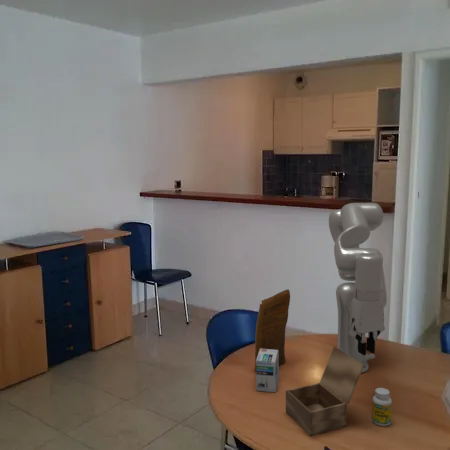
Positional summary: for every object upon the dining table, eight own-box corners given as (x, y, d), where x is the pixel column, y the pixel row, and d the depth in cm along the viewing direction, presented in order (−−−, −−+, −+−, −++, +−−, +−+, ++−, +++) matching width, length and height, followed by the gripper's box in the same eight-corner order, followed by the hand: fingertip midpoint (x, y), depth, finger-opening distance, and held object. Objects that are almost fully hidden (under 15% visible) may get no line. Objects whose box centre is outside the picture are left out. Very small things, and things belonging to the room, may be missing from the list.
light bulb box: (276, 393, 161) (276, 362, 160) (255, 391, 163) (255, 360, 161) (279, 378, 172) (279, 349, 170) (260, 376, 173) (259, 347, 172)
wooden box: (319, 403, 154) (319, 382, 153) (346, 426, 141) (346, 403, 140) (285, 411, 150) (285, 390, 149) (310, 436, 137) (310, 412, 136)
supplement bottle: (391, 418, 145) (392, 387, 144) (391, 427, 140) (392, 396, 139) (372, 415, 147) (373, 385, 145) (371, 425, 142) (372, 394, 140)
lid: (319, 382, 153) (321, 383, 153) (347, 404, 140) (348, 404, 140) (334, 346, 153) (335, 346, 154) (362, 364, 140) (364, 364, 141)
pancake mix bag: (295, 361, 185) (296, 289, 181) (261, 377, 172) (260, 300, 168) (282, 356, 190) (282, 286, 186) (247, 371, 177) (246, 296, 173)
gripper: (381, 288, 153) (379, 344, 156) (337, 294, 147) (336, 352, 150) (398, 294, 146) (395, 352, 149) (353, 301, 140) (351, 362, 143)
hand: (366, 352), depth 149 cm, fingers open, 2 cm apart
